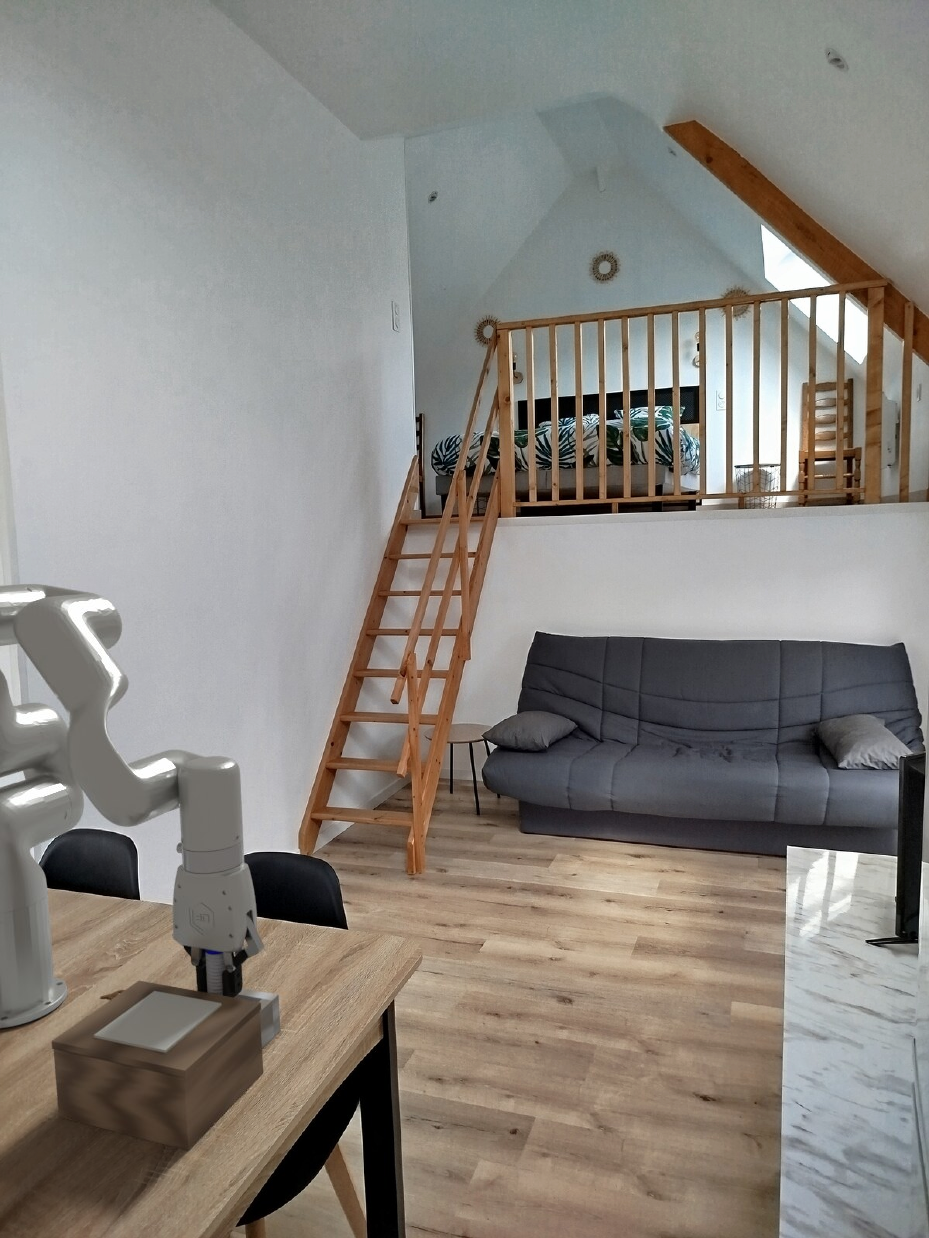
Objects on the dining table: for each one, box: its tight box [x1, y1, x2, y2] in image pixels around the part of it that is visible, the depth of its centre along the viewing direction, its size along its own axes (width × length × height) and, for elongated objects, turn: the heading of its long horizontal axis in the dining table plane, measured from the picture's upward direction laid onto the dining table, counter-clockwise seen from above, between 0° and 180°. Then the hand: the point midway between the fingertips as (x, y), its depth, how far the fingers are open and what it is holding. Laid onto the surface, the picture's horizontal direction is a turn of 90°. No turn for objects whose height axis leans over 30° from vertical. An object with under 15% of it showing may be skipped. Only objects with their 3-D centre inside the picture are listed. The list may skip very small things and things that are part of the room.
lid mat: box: [94, 991, 222, 1053], centre depth 99 cm, size 10×10×1 cm
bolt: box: [205, 949, 226, 996], centre depth 108 cm, size 16×5×5 cm
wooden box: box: [51, 980, 281, 1151], centre depth 103 cm, size 18×22×9 cm
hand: (220, 992), depth 108 cm, fingers closed on bolt, 3 cm apart
